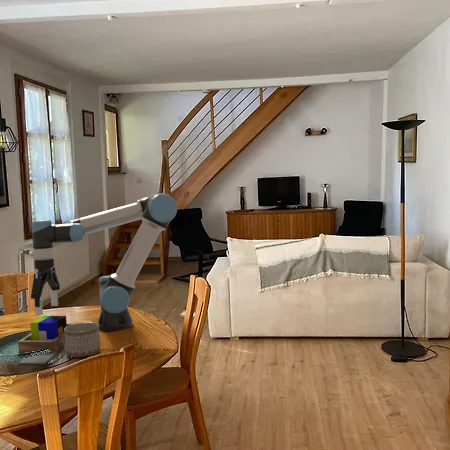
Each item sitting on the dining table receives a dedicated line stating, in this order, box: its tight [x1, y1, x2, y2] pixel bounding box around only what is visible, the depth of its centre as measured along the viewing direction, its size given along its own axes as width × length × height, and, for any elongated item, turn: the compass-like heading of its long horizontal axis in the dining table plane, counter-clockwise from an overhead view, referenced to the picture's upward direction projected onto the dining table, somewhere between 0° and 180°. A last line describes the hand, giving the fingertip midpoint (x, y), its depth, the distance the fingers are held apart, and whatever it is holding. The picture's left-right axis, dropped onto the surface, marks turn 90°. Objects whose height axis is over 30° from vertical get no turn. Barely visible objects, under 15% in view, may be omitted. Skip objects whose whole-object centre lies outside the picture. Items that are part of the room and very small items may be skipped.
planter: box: [64, 321, 101, 358], centre depth 190 cm, size 13×13×10 cm
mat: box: [18, 352, 58, 365], centre depth 186 cm, size 10×10×1 cm
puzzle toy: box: [30, 315, 68, 341], centre depth 204 cm, size 10×10×10 cm
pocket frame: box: [17, 322, 76, 354], centre depth 204 cm, size 23×14×4 cm, turn 173°
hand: (47, 310), depth 203 cm, fingers open, 13 cm apart
